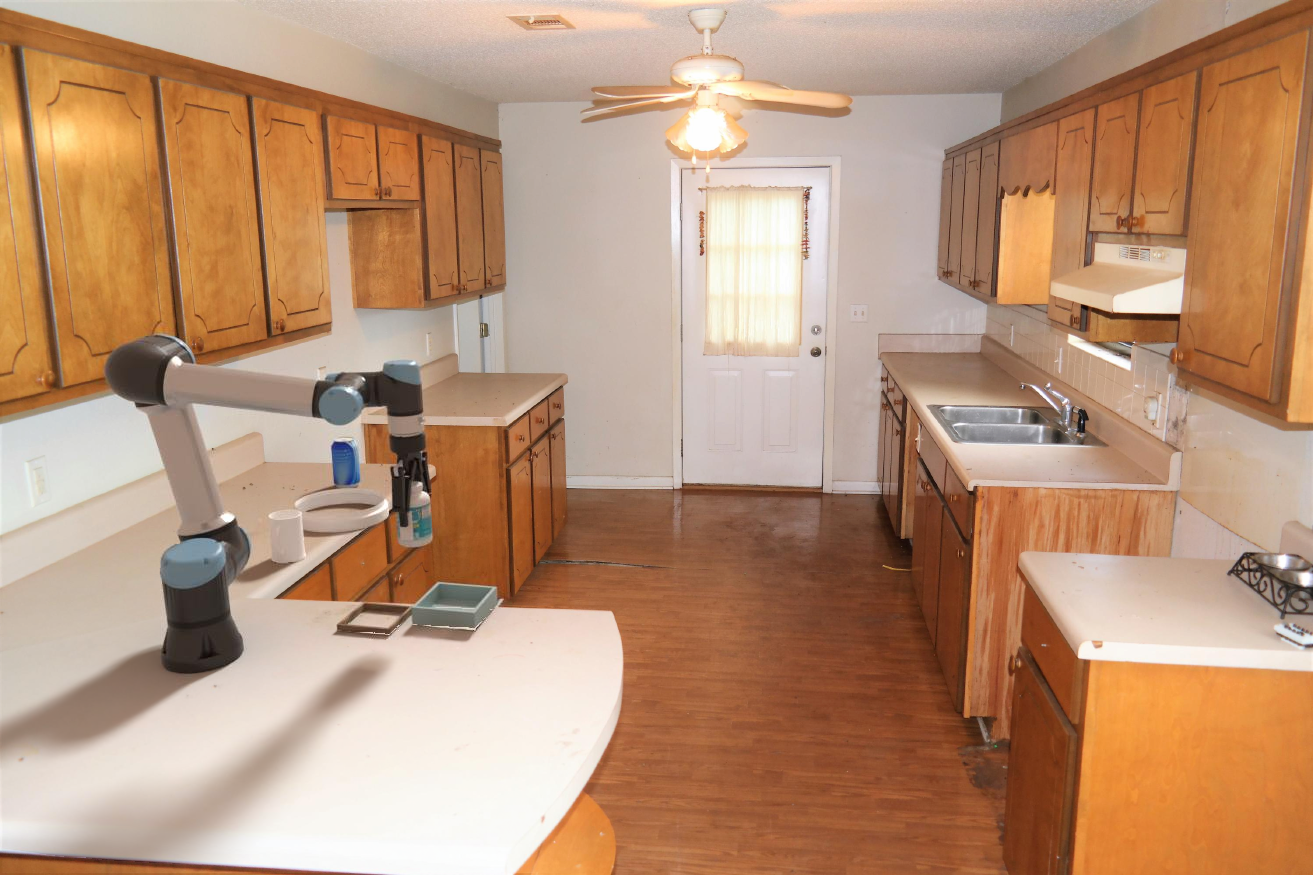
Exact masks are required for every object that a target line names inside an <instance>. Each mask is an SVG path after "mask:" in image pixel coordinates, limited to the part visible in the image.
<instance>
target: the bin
mask: <svg viewBox="0 0 1313 875" xmlns="http://www.w3.org/2000/svg"><path fill="white" fill-rule="evenodd" d="M411 606H412V607H411V609H412V614H411V625H412V624H417V625H431V626H449V627H469V628H475V627H476V626H477V625H478V624H479V623H480V622H481V621H482V620H483V619H484V618H485V617H486V618H488V616H489V615H490V614H491V613H492V611H493V610H494V609H495V608H496V606H498V587H497V586H491V585H490V586H489V585H478V584H466V583H454V582H453V583H452V582H443V581H442V582H441V581H437V582H436V583H435V584H434V585H433V586H432V587H431V588H430V589H429V590H427V592H426V593H425V594H424V595H423V596H421V597H420V599H418V601H416V602H415V603H414V604H413V605H411ZM435 607H461V608H435ZM462 608H475V609H462ZM490 609H493V610H490Z"/></svg>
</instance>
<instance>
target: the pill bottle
mask: <svg viewBox="0 0 1313 875" xmlns="http://www.w3.org/2000/svg"><path fill="white" fill-rule="evenodd" d="M422 490H423V484H422V482H419V481H412V484H411V495H410V507H409V511H412V523H413V535H414V540H413V541H409V540H401V539H400V527H399V515H398V512H395V519H396V532H397V542H398V544H399V545H400V546H402V547H405V548H406V547H407V548H418V547H422V546H423V547H424V546H426V545H429V544H430V543H431V542H432V541H433V526H432V525H433V524H432V509H431V507H432V506H431V498H430V497H429V495H428V494H429V493H428V494H427V493H426V492H424V491H422Z"/></svg>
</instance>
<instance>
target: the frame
mask: <svg viewBox="0 0 1313 875" xmlns="http://www.w3.org/2000/svg"><path fill="white" fill-rule="evenodd" d="M412 606H413V605H402V604H390V603H381V602H379V603H378V602H370V601H369V602H366V601H362V602H361V603H360V604H359V605H358V606H357V607H355V609H353V610H352V611H351V612H349V614H347V615H346V616H345V617H344V618H343V619H341V620H340V621H339V622H338V623H337V624H336V631H337V630H341V631H340V632H343V631H351V632H350V633H354V632H373V633H374V632H375V633H385V634H390V633H391V632H392V631H393V630H394V629H395V628H397V626H398V625H400V624H401V623H402V622H403V621H404V620H405V619H406V620H407V619H409V618H410V617H411V616H412V609H411V607H412ZM365 610H368V611H381V612H391V613H402V614H401V615H399V617H398V618H397V619H395V621H394V622H393V623H391V624H390V625H389V627H382V626H381V627H380V626H368V625H359V624H350V623H351V622H352V621H353V620H354V619H355V618H357V617H358V616H359V615H360V614H362V612H363V611H365ZM406 620H405V621H406ZM405 621H404V622H405ZM349 622H350V623H349ZM404 622H403V623H404ZM348 623H349V624H348ZM403 623H402V624H403ZM402 624H401V625H402ZM401 625H400V626H401ZM397 629H398V628H397Z"/></svg>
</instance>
